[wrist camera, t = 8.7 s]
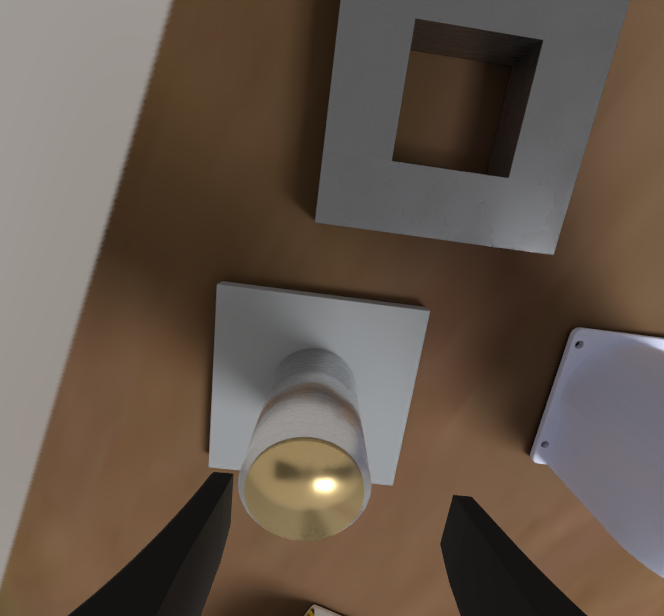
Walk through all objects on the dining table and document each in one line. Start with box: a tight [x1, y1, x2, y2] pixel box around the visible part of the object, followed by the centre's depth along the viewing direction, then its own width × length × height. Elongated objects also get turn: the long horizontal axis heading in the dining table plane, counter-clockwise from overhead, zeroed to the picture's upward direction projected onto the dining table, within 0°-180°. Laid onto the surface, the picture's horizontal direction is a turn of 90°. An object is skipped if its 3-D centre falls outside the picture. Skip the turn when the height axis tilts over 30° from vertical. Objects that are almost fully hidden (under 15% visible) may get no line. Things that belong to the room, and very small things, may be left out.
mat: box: [209, 281, 430, 486], centre depth 20 cm, size 12×12×1 cm
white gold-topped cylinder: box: [238, 348, 371, 541], centre depth 16 cm, size 5×5×8 cm
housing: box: [315, 0, 630, 255], centre depth 16 cm, size 12×12×2 cm
